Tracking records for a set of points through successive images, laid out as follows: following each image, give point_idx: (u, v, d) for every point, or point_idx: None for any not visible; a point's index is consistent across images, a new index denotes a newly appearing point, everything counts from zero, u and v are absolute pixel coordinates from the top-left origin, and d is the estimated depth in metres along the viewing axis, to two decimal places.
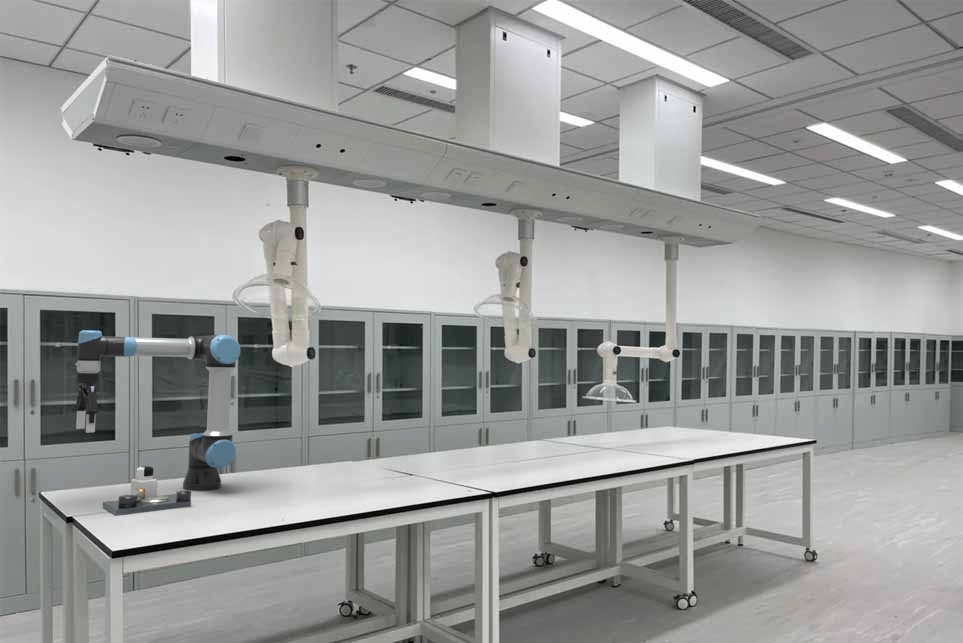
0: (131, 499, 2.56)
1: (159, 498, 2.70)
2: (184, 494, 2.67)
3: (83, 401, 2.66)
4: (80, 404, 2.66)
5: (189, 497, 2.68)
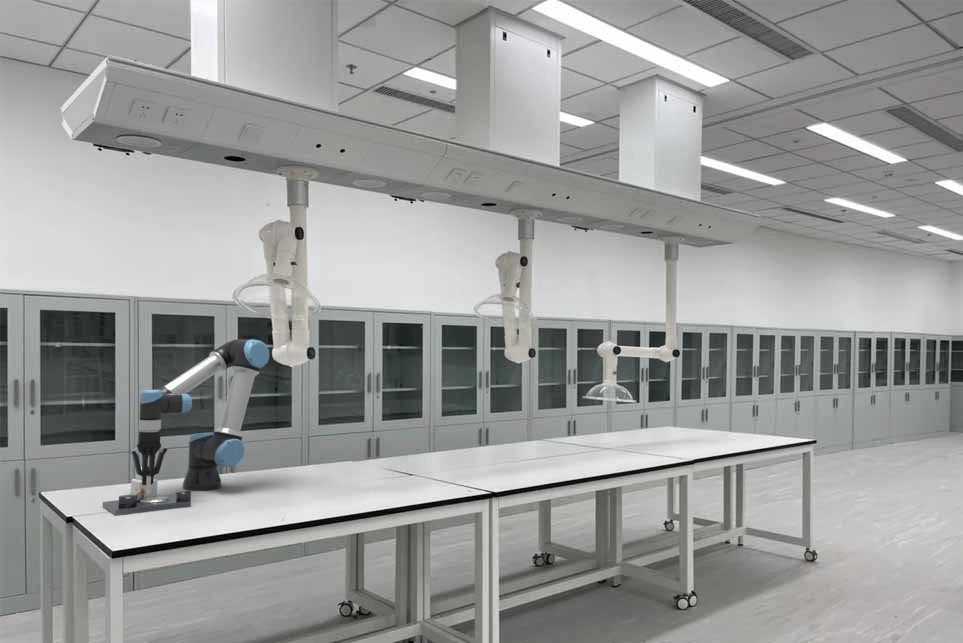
0: (131, 499, 2.56)
1: (159, 498, 2.70)
2: (184, 494, 2.67)
3: (150, 462, 2.71)
4: (149, 466, 2.72)
5: (189, 497, 2.68)
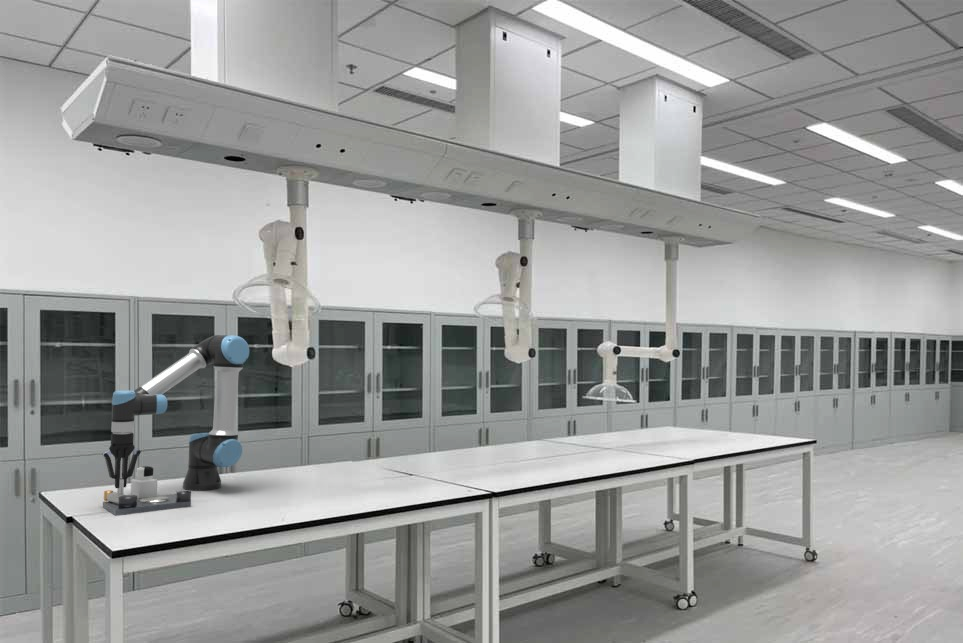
0: (136, 498, 2.58)
1: (159, 498, 2.70)
2: (184, 494, 2.67)
3: (123, 465, 2.65)
4: (122, 468, 2.66)
5: (189, 497, 2.68)
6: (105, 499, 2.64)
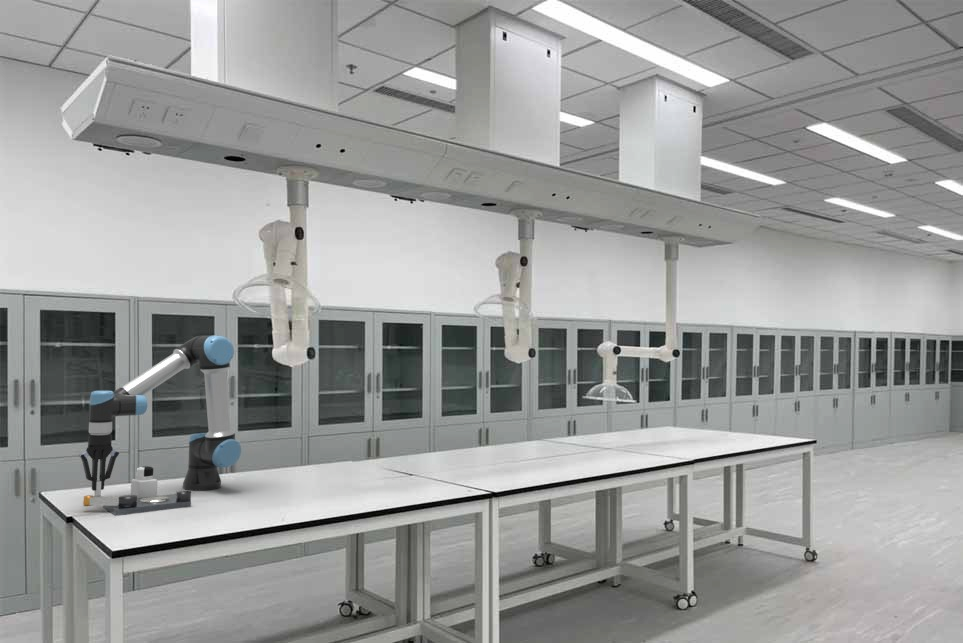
0: None
1: (159, 498, 2.70)
2: (184, 494, 2.67)
3: (100, 466, 2.60)
4: (100, 470, 2.60)
5: (189, 497, 2.68)
6: (87, 504, 2.55)
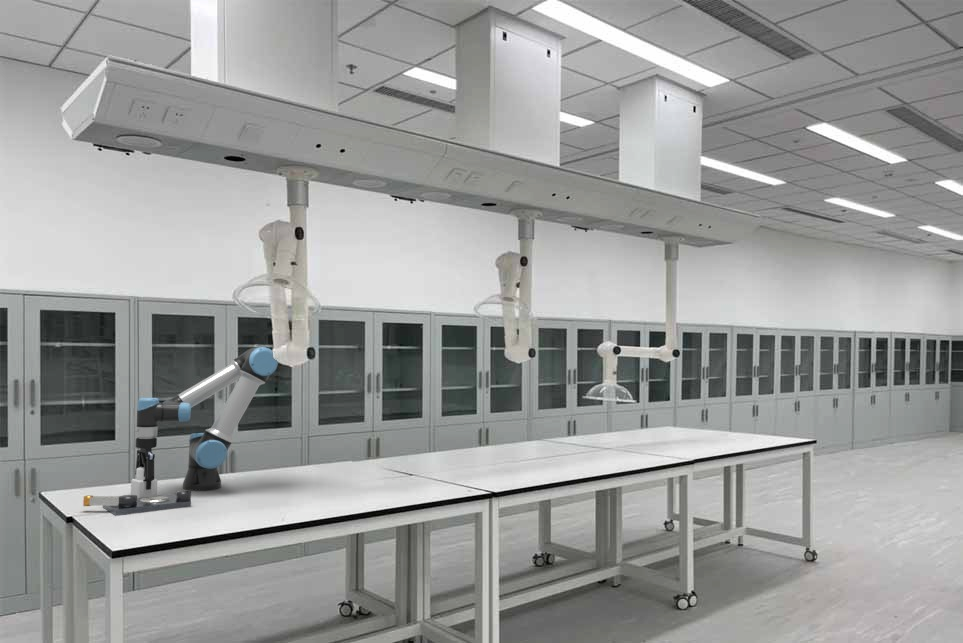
0: None
1: (159, 498, 2.70)
2: (184, 494, 2.67)
3: (142, 466, 2.83)
4: None
5: (189, 497, 2.68)
6: (87, 504, 2.55)
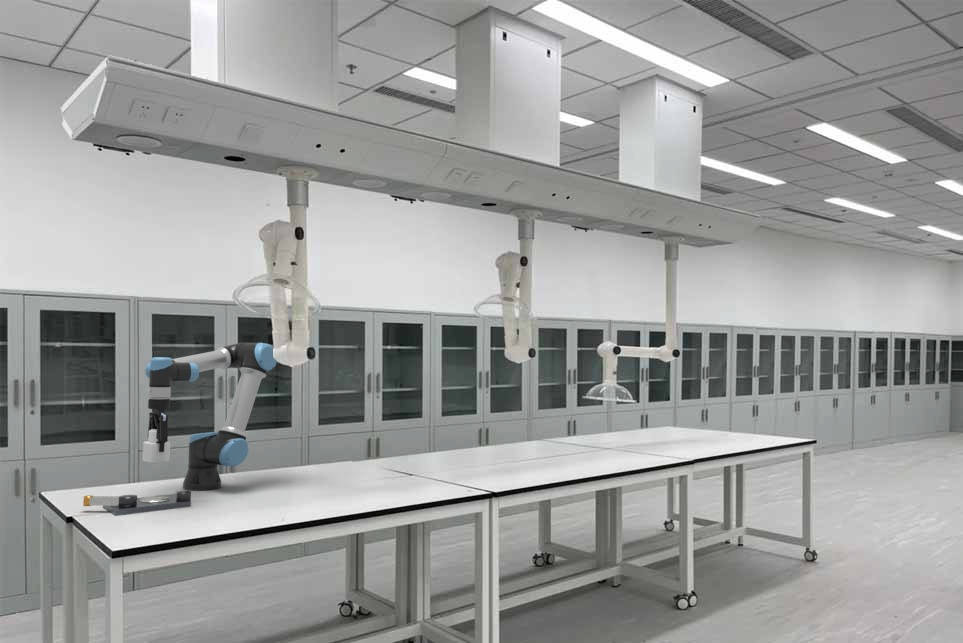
0: None
1: (159, 498, 2.70)
2: (184, 494, 2.67)
3: None
4: None
5: (189, 497, 2.68)
6: (87, 504, 2.55)
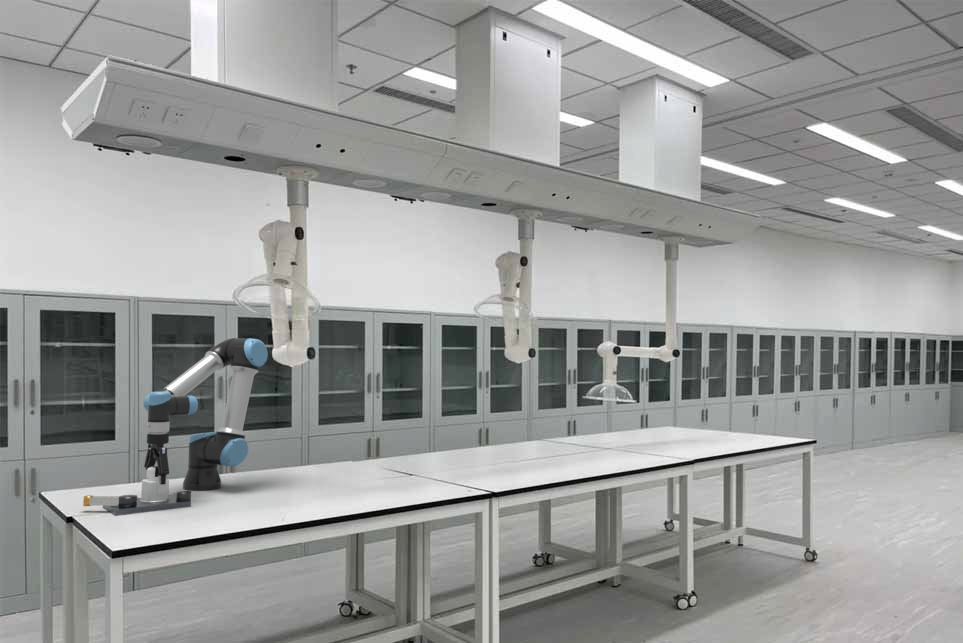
0: None
1: None
2: (184, 494, 2.67)
3: (152, 461, 2.72)
4: (149, 463, 2.72)
5: (189, 497, 2.68)
6: (87, 504, 2.55)
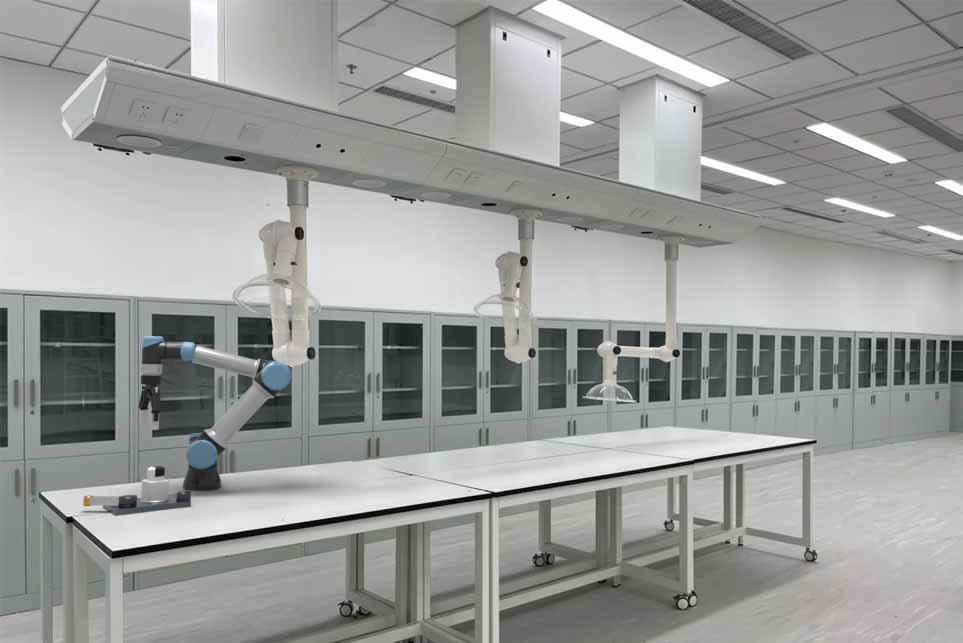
0: None
1: None
2: (184, 494, 2.67)
3: (146, 401, 2.90)
4: (143, 404, 2.90)
5: (189, 497, 2.68)
6: (87, 504, 2.55)
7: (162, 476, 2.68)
